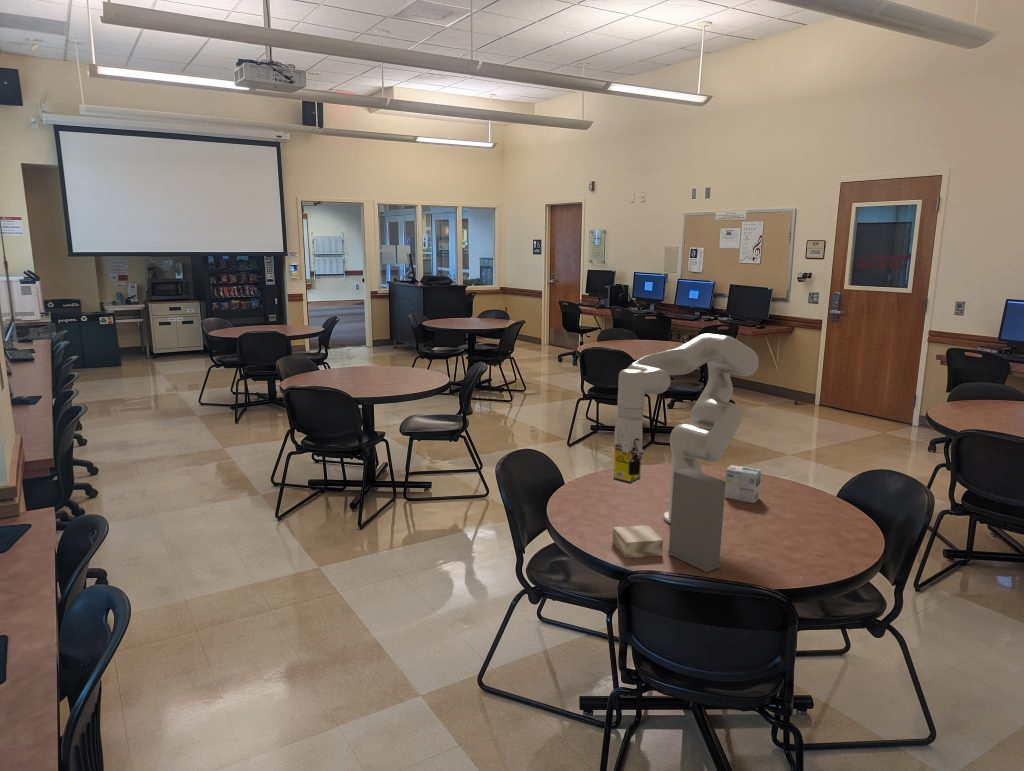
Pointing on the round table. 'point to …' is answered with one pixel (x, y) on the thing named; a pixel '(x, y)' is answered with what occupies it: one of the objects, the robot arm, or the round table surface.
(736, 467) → the light bulb box
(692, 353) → the robot arm
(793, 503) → the round table surface
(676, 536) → the upright grey panel
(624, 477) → the supplement box
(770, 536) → the round table surface
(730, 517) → the round table surface
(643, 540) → the birch block
